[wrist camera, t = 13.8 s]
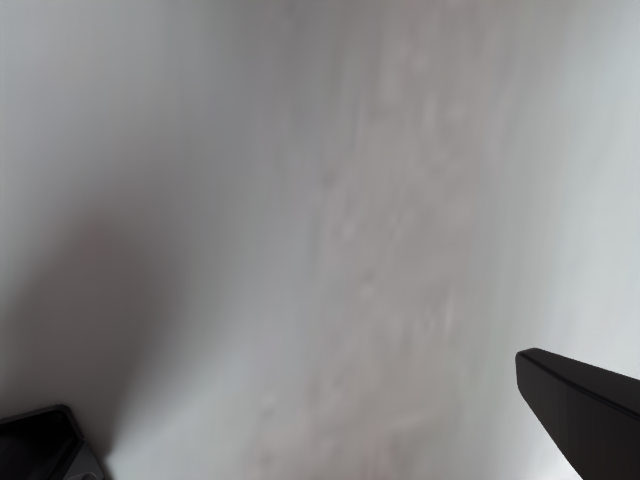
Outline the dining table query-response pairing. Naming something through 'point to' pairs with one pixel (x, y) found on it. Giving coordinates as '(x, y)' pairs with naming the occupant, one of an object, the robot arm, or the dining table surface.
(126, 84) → the dining table surface
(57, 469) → the robot arm
